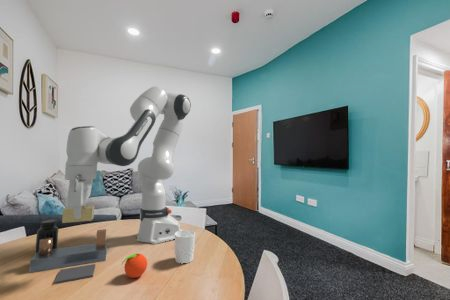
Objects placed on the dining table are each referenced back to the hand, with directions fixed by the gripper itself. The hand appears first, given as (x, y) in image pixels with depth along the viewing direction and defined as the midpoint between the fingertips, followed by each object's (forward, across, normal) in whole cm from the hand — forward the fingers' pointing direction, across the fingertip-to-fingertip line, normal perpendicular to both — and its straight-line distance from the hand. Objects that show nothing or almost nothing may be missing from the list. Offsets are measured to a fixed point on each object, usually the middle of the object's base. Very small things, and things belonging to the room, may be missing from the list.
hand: (79, 215), depth 71 cm
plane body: (+19, +11, +3) cm, 22 cm away
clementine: (+19, -9, -17) cm, 27 cm away
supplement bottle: (+19, +25, +14) cm, 34 cm away
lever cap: (+1, 0, 0) cm, 1 cm away
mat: (+19, 0, 0) cm, 19 cm away
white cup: (+19, -4, -35) cm, 40 cm away
